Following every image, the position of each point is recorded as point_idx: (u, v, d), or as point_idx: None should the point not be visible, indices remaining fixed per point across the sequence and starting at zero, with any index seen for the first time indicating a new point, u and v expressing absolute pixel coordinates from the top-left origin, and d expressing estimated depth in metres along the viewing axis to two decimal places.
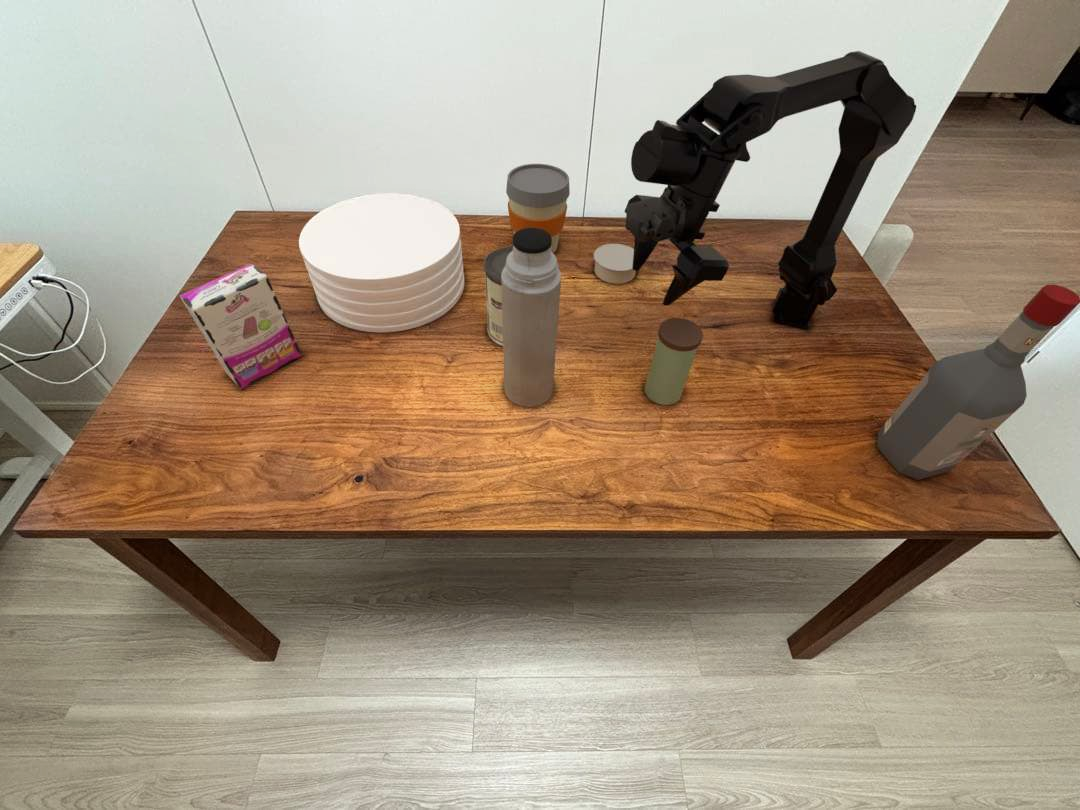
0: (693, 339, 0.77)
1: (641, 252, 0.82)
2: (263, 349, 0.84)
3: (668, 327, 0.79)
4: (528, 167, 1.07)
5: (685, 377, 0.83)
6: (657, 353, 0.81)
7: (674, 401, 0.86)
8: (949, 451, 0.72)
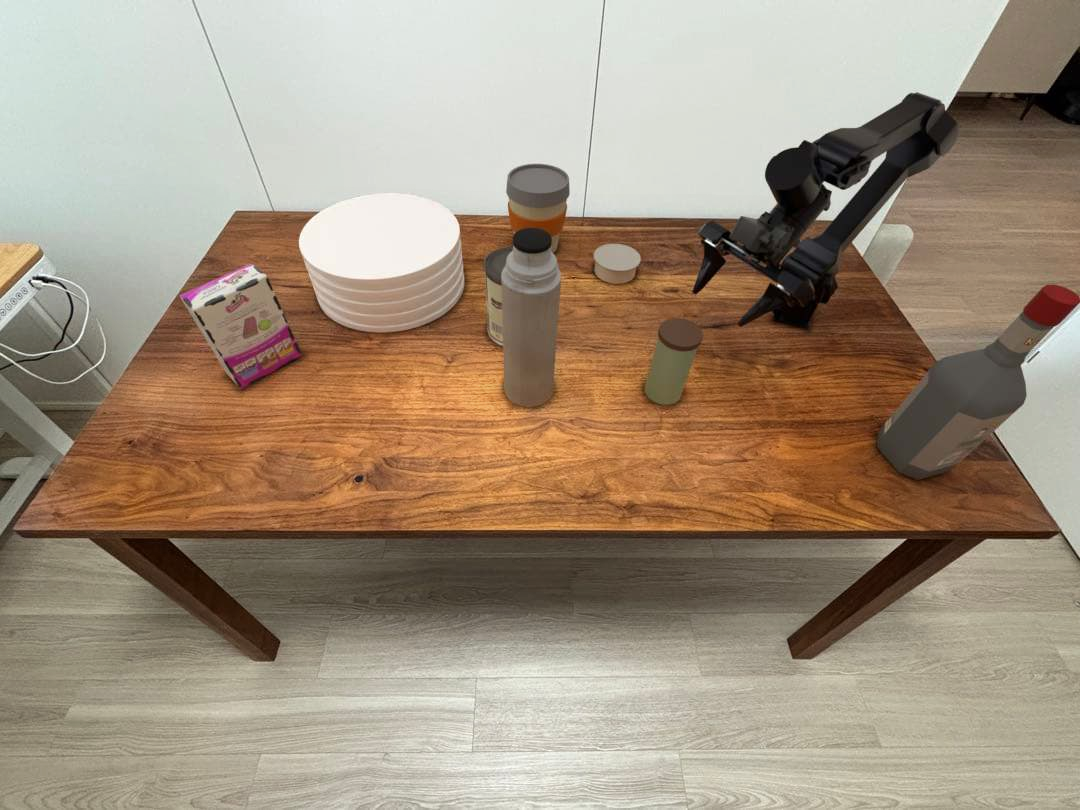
0: (693, 339, 0.77)
1: (705, 276, 0.83)
2: (263, 349, 0.84)
3: (668, 327, 0.79)
4: (528, 167, 1.07)
5: (685, 377, 0.83)
6: (657, 353, 0.81)
7: (674, 401, 0.86)
8: (949, 451, 0.72)
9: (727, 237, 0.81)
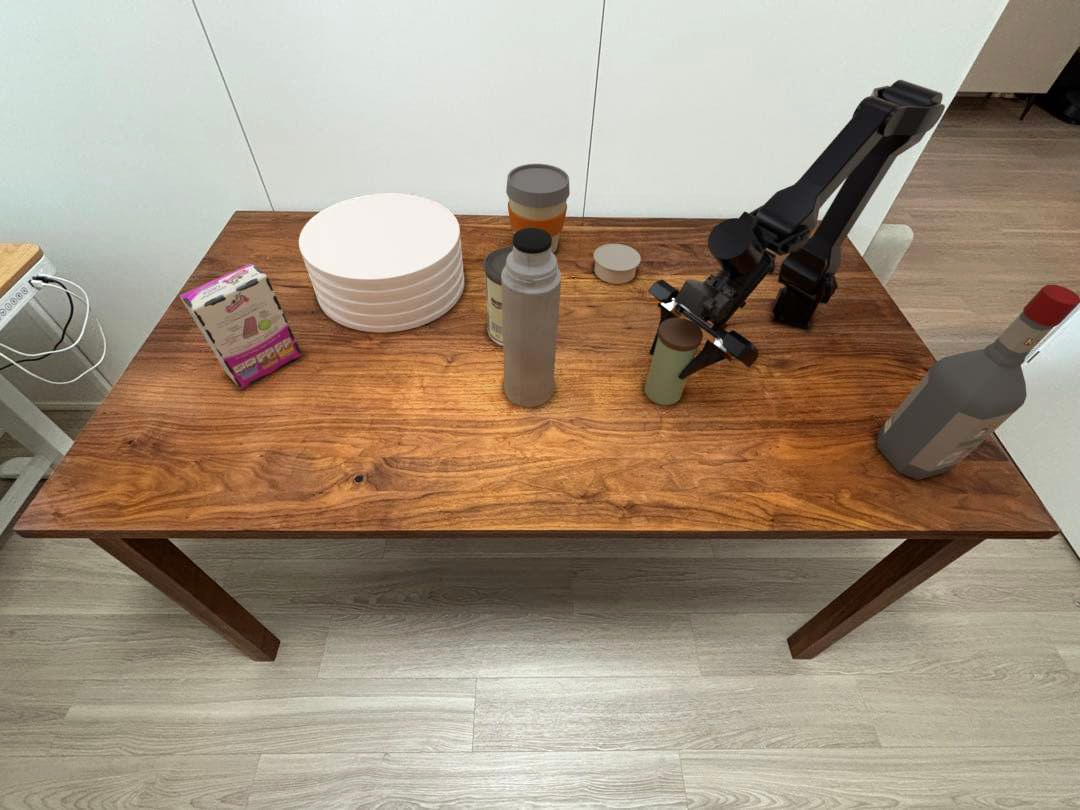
0: (693, 339, 0.77)
1: None
2: (263, 349, 0.84)
3: (668, 327, 0.79)
4: (528, 167, 1.07)
5: None
6: (657, 353, 0.81)
7: (674, 401, 0.86)
8: (949, 451, 0.72)
9: (676, 296, 0.82)
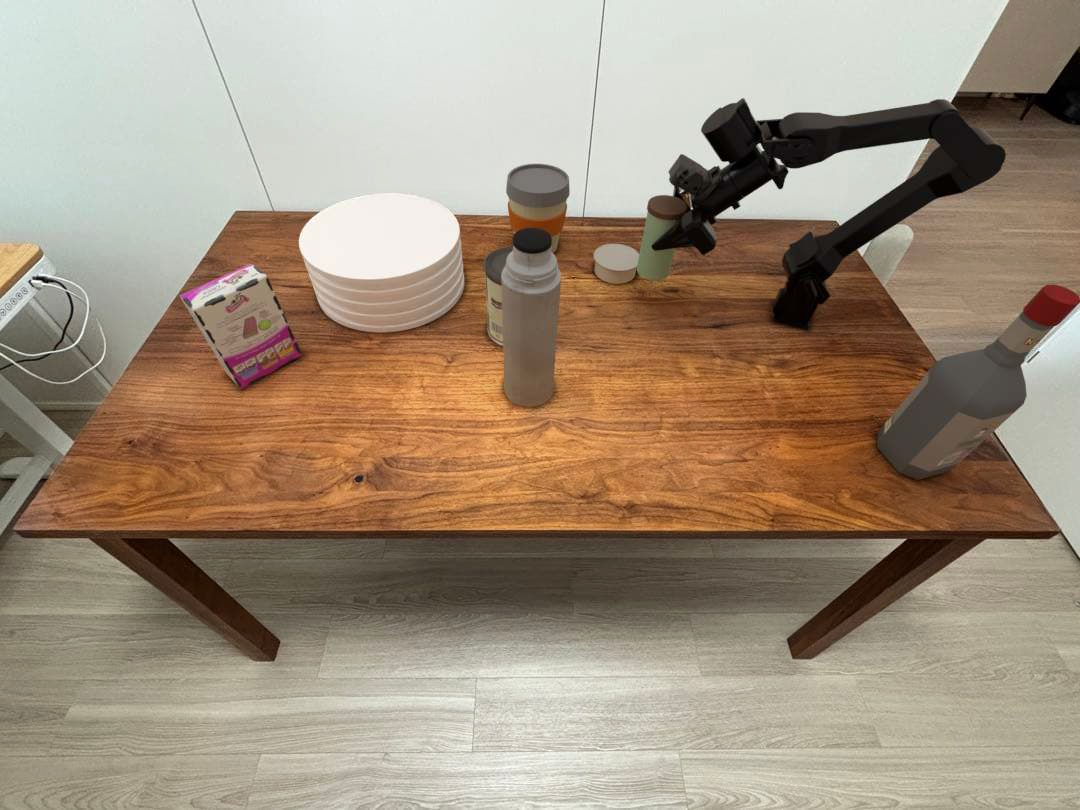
0: (669, 211, 0.87)
1: None
2: (263, 349, 0.84)
3: (661, 198, 0.90)
4: (528, 167, 1.07)
5: (661, 253, 0.92)
6: None
7: (651, 277, 0.96)
8: (949, 451, 0.72)
9: None
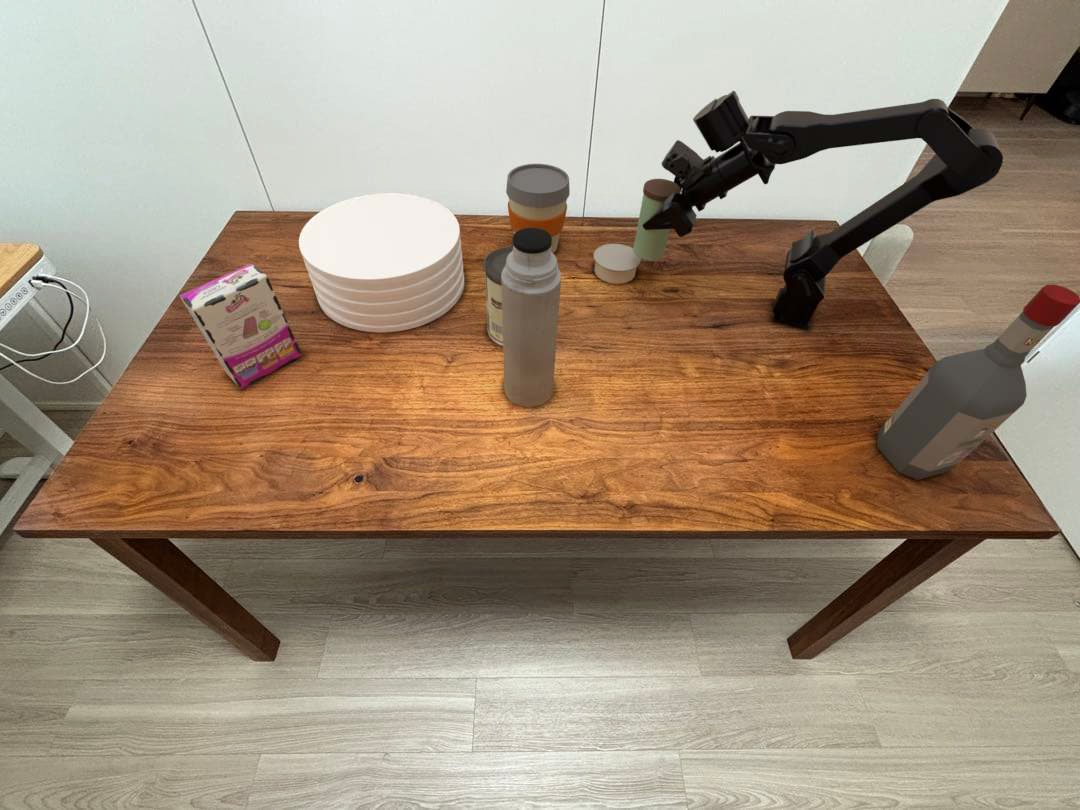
0: (661, 193, 0.93)
1: None
2: (263, 349, 0.84)
3: (659, 181, 0.95)
4: (528, 167, 1.07)
5: (652, 233, 0.98)
6: None
7: (642, 256, 1.02)
8: (949, 451, 0.72)
9: None
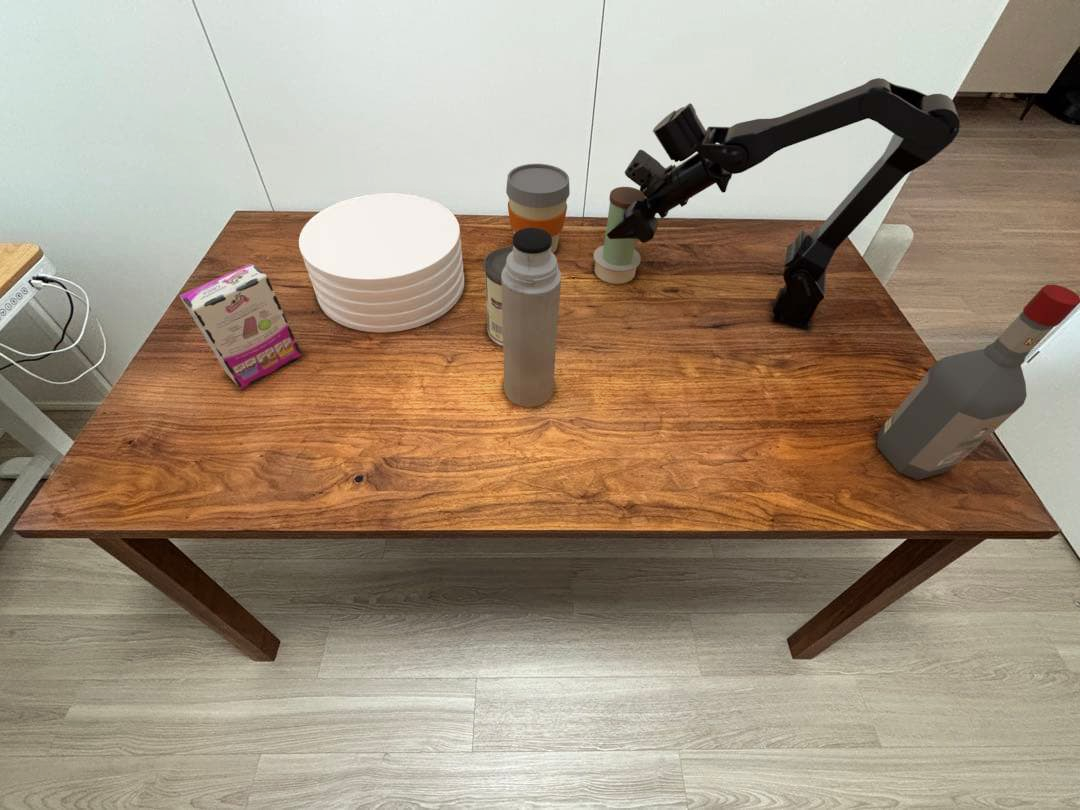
0: (626, 201, 0.96)
1: None
2: (263, 349, 0.84)
3: (625, 189, 0.99)
4: (528, 167, 1.07)
5: (619, 239, 1.01)
6: None
7: (611, 261, 1.05)
8: (949, 451, 0.72)
9: None
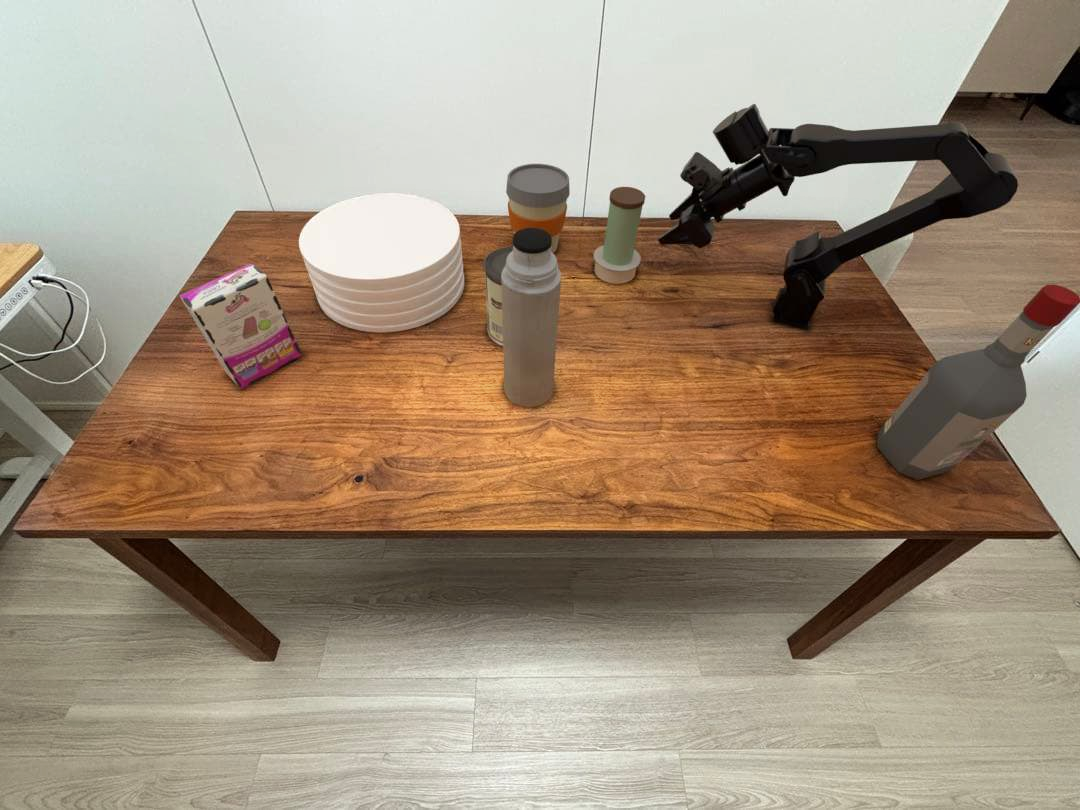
0: (626, 201, 0.96)
1: (683, 208, 1.00)
2: (263, 349, 0.84)
3: (625, 189, 0.99)
4: (528, 167, 1.07)
5: (619, 239, 1.01)
6: None
7: (611, 261, 1.05)
8: (949, 451, 0.72)
9: None
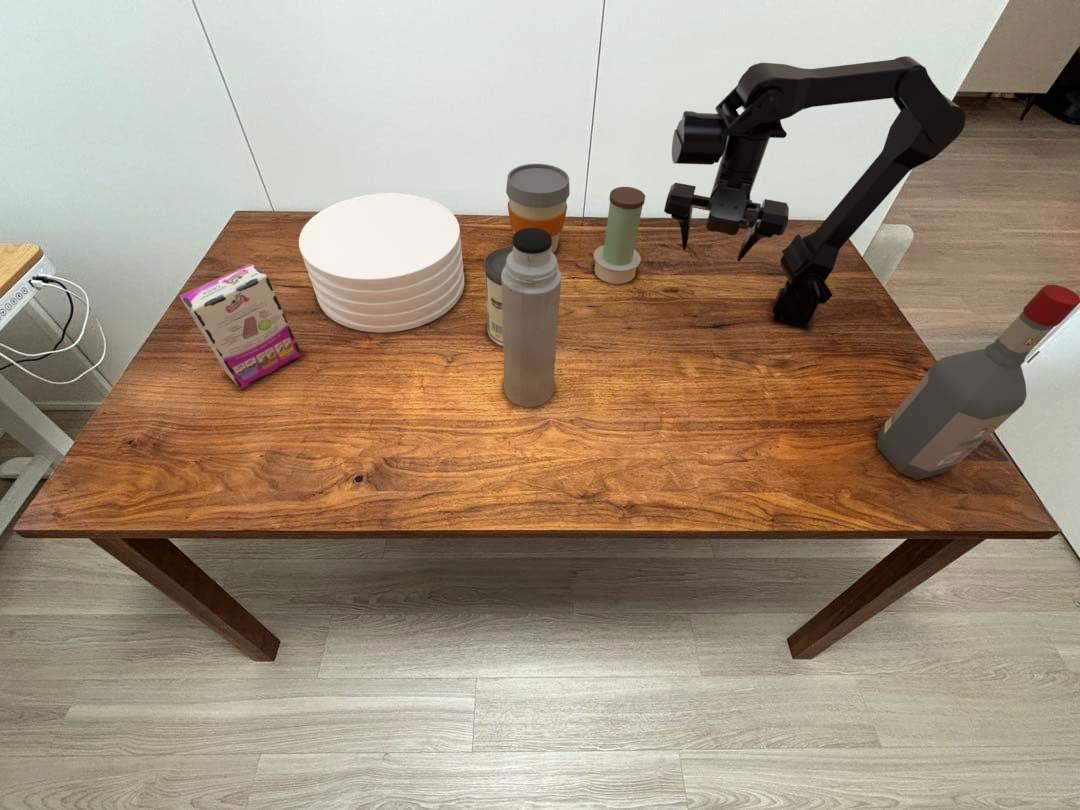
0: (626, 201, 0.96)
1: (687, 234, 0.90)
2: (263, 349, 0.84)
3: (625, 189, 0.99)
4: (528, 167, 1.07)
5: (619, 239, 1.01)
6: None
7: (611, 261, 1.05)
8: (949, 451, 0.72)
9: (691, 200, 0.85)
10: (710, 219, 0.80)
